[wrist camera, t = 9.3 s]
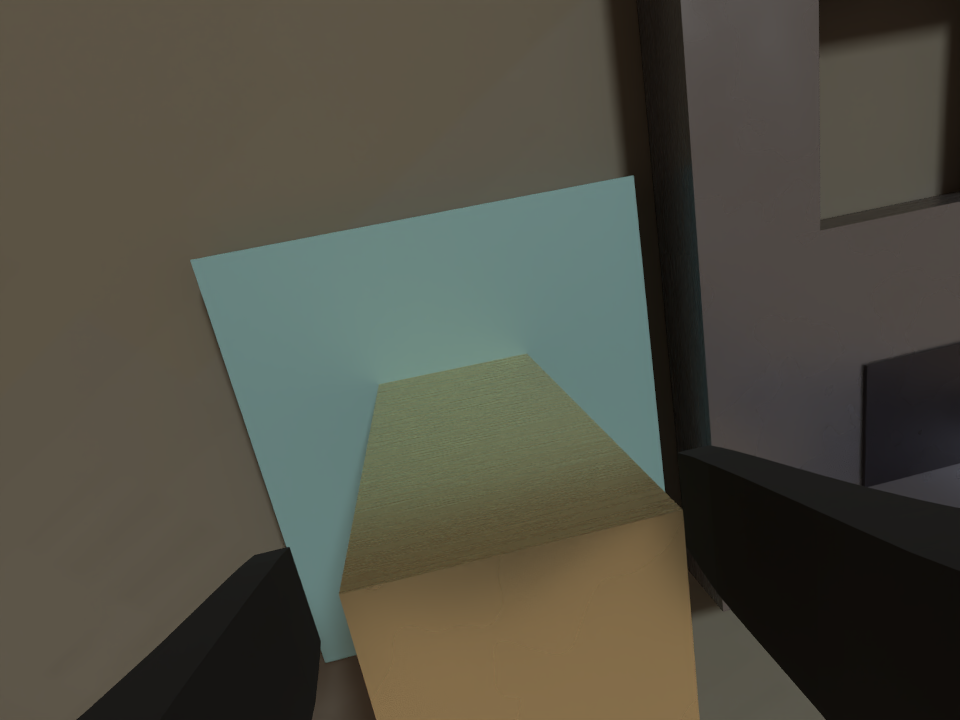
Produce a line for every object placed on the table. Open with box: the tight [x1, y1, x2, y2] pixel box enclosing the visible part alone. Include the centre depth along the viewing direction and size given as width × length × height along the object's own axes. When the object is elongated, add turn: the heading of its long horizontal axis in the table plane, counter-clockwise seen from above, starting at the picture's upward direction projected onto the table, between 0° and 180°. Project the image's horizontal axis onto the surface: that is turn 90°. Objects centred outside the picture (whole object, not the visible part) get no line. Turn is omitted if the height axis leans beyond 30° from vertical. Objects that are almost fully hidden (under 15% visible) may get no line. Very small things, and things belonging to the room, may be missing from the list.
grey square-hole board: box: [637, 0, 960, 611], centre depth 14 cm, size 22×13×2 cm, turn 11°
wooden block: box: [339, 353, 699, 720], centre depth 10 cm, size 4×4×8 cm
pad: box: [190, 175, 665, 663], centre depth 14 cm, size 12×11×1 cm
